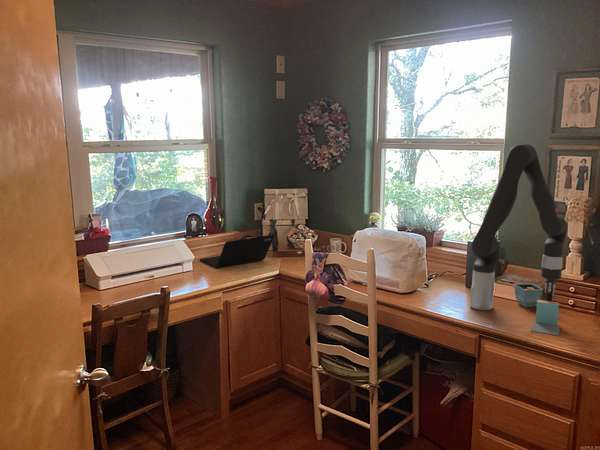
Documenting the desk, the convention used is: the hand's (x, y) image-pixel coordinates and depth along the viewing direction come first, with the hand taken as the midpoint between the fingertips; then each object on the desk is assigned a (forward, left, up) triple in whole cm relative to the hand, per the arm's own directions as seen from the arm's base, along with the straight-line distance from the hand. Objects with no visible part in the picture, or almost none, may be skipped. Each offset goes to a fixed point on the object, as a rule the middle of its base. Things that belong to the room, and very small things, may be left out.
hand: (548, 306), depth 209 cm
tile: (0, -1, -7) cm, 7 cm away
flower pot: (-9, +20, -7) cm, 23 cm away
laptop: (-172, +21, -8) cm, 174 cm away
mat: (0, -8, -7) cm, 11 cm away
